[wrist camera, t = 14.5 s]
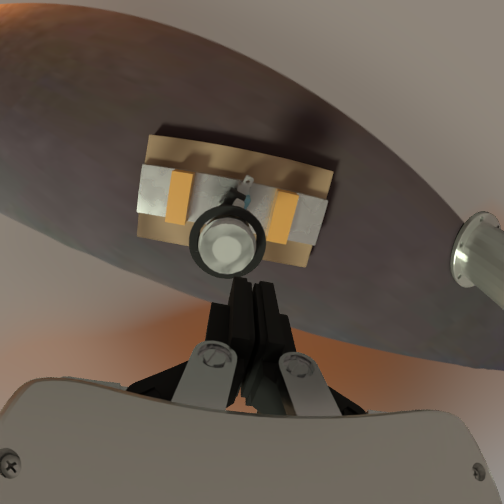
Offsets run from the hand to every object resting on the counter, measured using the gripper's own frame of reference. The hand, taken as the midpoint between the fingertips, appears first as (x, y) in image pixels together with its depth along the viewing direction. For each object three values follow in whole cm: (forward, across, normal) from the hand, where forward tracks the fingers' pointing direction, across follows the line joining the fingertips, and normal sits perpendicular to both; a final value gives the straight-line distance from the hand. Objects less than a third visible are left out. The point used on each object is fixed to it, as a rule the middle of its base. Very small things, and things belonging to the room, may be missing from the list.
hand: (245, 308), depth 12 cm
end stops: (+17, +1, 0) cm, 17 cm away
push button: (+17, +1, 0) cm, 17 cm away
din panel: (+19, +1, 0) cm, 19 cm away
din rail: (+18, +1, 0) cm, 18 cm away
